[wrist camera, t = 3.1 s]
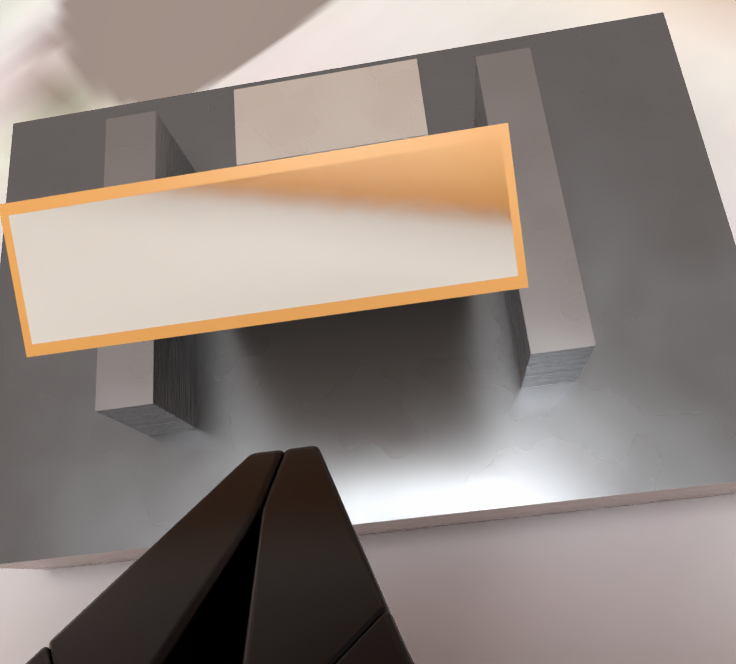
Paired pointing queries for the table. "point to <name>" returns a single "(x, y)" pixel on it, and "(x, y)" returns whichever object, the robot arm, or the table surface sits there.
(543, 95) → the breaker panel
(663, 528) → the table surface
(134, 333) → the lever
